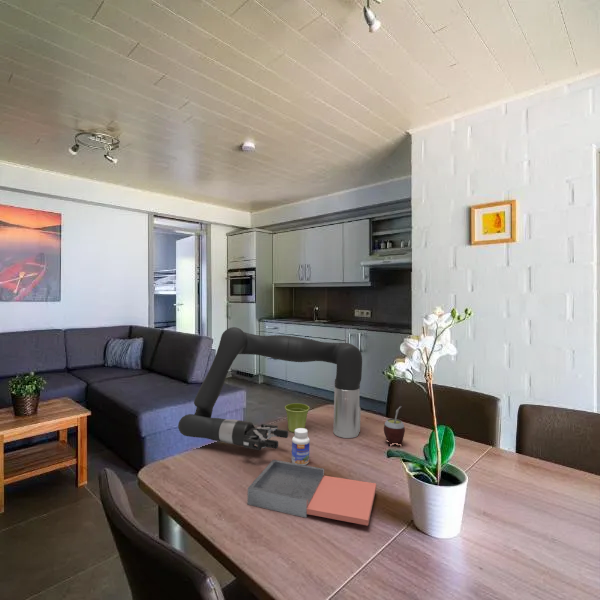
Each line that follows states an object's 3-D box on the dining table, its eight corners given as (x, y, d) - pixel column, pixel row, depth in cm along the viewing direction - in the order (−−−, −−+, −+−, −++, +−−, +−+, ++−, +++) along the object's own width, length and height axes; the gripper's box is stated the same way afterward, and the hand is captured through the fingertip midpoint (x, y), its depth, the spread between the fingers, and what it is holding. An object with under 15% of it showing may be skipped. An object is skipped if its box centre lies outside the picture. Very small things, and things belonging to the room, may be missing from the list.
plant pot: (313, 428, 137) (314, 406, 136) (300, 436, 129) (301, 413, 128) (293, 423, 142) (293, 401, 141) (279, 431, 134) (279, 407, 133)
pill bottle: (296, 467, 106) (297, 435, 106) (288, 459, 111) (289, 428, 110) (312, 463, 108) (313, 432, 108) (304, 456, 113) (304, 426, 113)
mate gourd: (389, 438, 129) (391, 396, 129) (410, 445, 124) (411, 401, 124) (378, 444, 124) (380, 401, 124) (399, 451, 119) (400, 406, 118)
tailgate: (306, 508, 82) (368, 520, 78) (324, 475, 97) (376, 483, 93) (306, 515, 82) (368, 527, 78) (324, 481, 97) (376, 489, 93)
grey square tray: (247, 504, 87) (247, 488, 87) (272, 473, 102) (273, 459, 102) (306, 517, 82) (306, 500, 82) (323, 483, 97) (324, 468, 97)
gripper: (225, 428, 110) (274, 436, 104) (246, 413, 123) (291, 420, 118) (225, 452, 110) (274, 461, 105) (246, 435, 123) (290, 442, 118)
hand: (283, 439), depth 111 cm, fingers open, 8 cm apart
